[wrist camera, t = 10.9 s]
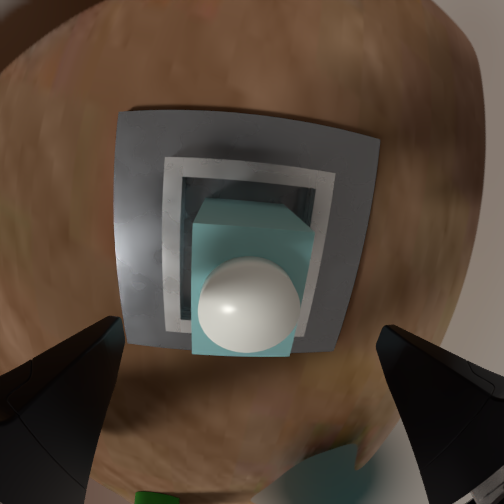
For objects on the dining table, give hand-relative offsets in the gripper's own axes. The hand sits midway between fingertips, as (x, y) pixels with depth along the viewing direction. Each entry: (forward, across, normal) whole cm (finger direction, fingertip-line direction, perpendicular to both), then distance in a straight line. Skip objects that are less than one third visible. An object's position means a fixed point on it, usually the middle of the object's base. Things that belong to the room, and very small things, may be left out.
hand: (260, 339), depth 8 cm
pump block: (+9, 0, 0) cm, 9 cm away
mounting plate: (+9, 0, 0) cm, 9 cm away
